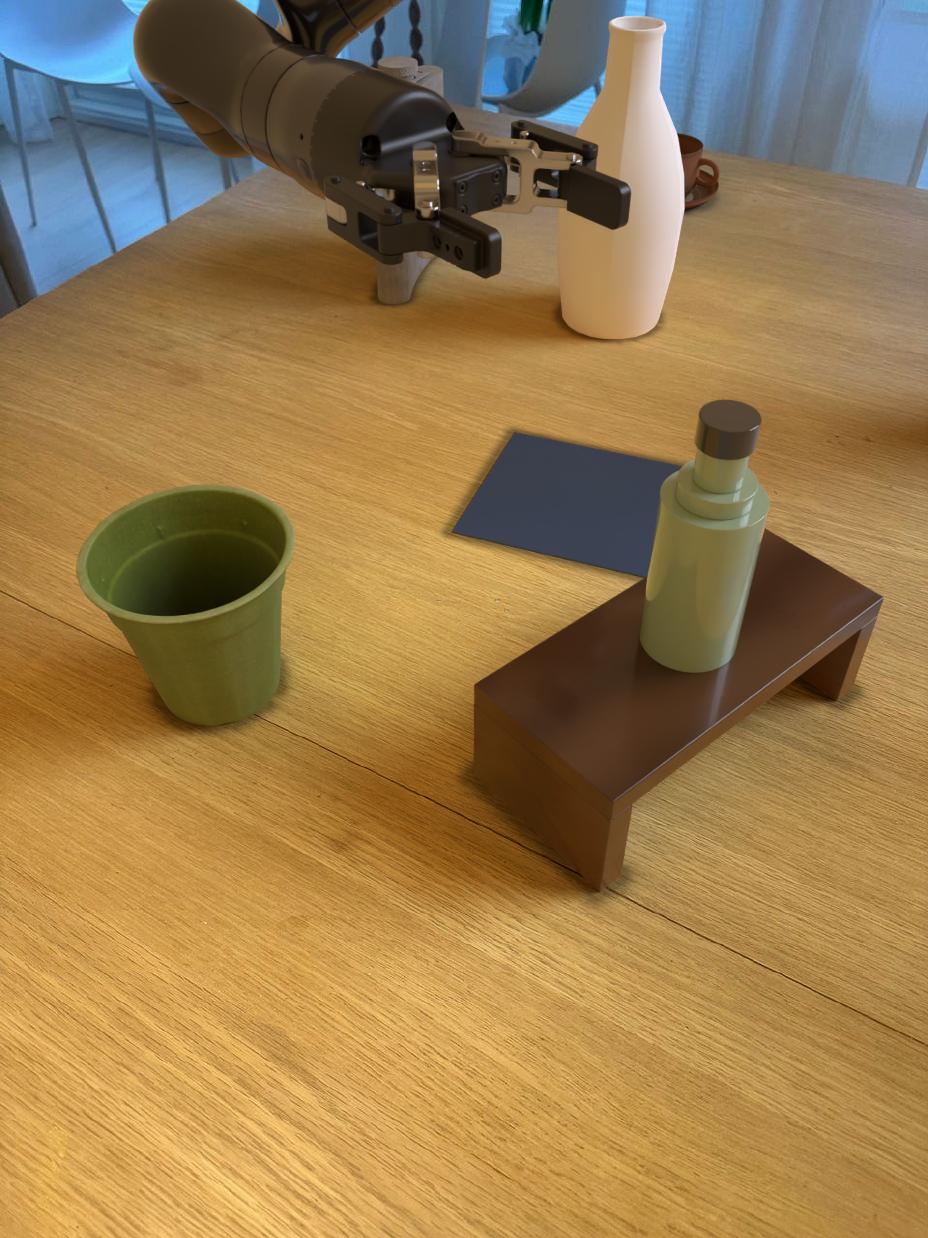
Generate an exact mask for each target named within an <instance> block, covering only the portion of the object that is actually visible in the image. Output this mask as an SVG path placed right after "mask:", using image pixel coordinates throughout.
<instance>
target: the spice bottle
mask: <svg viewBox="0 0 928 1238" xmlns="http://www.w3.org/2000/svg"><path fill="white" fill-rule="evenodd" d="M697 414H698V415H697V421H696V426H695V432H694V438H693V440H694V444H695V447H696V451H695V452H696V453H695V458H694V459H692V460H690V461H688V462H685V463H684V464H683V465H681V466H682V467H681V469H680V470H679V471H677V472H675V473H673V474H672V475H670V476H669V477H668V478H667V479H666V480H665V481H664V482H663V484H662V486H661V489H660V495H659V502H658V508H657V515H656V522H655V529H654V536H653V542H652V549H651V556H650V563H649V570H648V577H647V583H646V590H645V597H644V604H643V611H642V617H641V624H640V632H639V637H640V641H641V644H642V646H643V648H644V650H645V651H646V653H647V654H648V655H649V656H650V657H651V658H653V659H654V660H655V661H657V662H658V663H660V664H662V665H663V666H666V667H668V668H670V669H674V670H677V671H682V672H689V673H701V672H708V671H712V670H715V669H717V668H720V667H722V666H723V665H725V664H726V663H727V662H729V660H730V659H731V658H732V657H733V655H734V654H735V651H736V647H737V643H738V639H739V635H740V631H741V626H742V622H743V618H744V614H745V609H746V605H747V601H748V597H749V593H750V588H751V584H752V580H753V576H754V571H755V567H756V563H757V559H758V555H759V550H760V546H761V542H762V538H763V533H764V529H765V528H766V525H767V522H768V521H767V520H768V517H769V512H770V507H771V500H770V496H769V494H768V492H767V490H766V489H765V487H764V486H763V485H762V484H761V483H760V482H759V479H758V476H757V475H756V474H755V472H754V471H753V470H752V469H751V468H749V467H748V466H749V461H750V456H751V455H753V453H754V452H755V451H756V449H757V445H758V439H759V436H760V431H761V427H762V426H761V425H762V415H761V413H760V411H759V410H758V409H756V408H755V407H753V406H752V405H751V404H748V403H746V402H743V401H740V400H735V399H716V400H712V401H708V402H707V403H705V404H703V405H702V406H701V407H700V408H699V411H698V413H697Z"/></svg>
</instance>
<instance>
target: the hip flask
mask: <svg viewBox="0 0 928 1238" xmlns="http://www.w3.org/2000/svg"><path fill="white" fill-rule="evenodd" d="M377 69H378V70H381V71H383V72H386V73H389V74H392V75H394V76H397V77H399V78H402V79H405V80H407V81H410V82H413V83H415V84H418V85H421V86H423V87H426V88H429V89H431V90H433V91H435V92H437V93H438V94H439V95H441V96H442V97H443V98H444V69H443V68H442V67H440V66H438V65H432V64H431V65H430V64H429V65H427V64H426V65H425V64H423V65H419V62H418V60H417V58H413V57H410V56H403V55H397V56H394V55H393V56H388V57H383V58H381V59H379V60H378V61H377ZM431 260H432V259H423V258H420V257H418V256H417V251H415V252H408V253H404V261H403V262H402V263H400V264H396V265H386V264H382V263H381V262H379V261H378V260H376V259H375V273H376V285H377V286H376V287H377V298H378V301H380V302H381V303H382V304H387V305H400V304H401V305H402V304H404V303H407V302H408V301H410V299H411V296H412V292H413V289H414V286H415V284H416V282H417V280H418V278H419V276H420V275H421V273H422V272H423V271H424V269H425V268H426V266H427V265H428V264H429V263H430V261H431Z"/></svg>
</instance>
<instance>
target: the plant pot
mask: <svg viewBox="0 0 928 1238" xmlns="http://www.w3.org/2000/svg"><path fill="white" fill-rule="evenodd" d="M295 537H296V535H295V530H294V527H293V523H292V522H291V520H290V518H289V517H288V515H287V513H286V512H285V511H284V509H282V508H281V506H279V505H278V504H277V503H275V502H274V501H273V500H271V499H269V498H267V497H266V496H264V495H262V494H260V493H257V492H254V491H253V490H248V489H246V488H242V487H237V486H232V485H225V484H192V485H191V484H190V485H183V486H178V487H172V488H168V489H164V490H159V491H156V492H153V493H150V494H147V495H145V496H142V497H140V498H137V499H135V500H133V501H131V502H130V503H127V504H126V505H123V506H121V507H120V508H118V509H117V510H116V511H114V512H112V513H111V514H110V515H108V516H107V517H104V519H103V520H101V521H100V522H99V523H98V524H97V525H96V527H95V528H94V529H93V531H92V532H90V533H89V534H88V536H87V537H86V538H85V540H84V542H83V544H82V545H81V548H80V549H79V553H78V554H77V555H78V556H77V559H76V567H75V574H76V578H77V582H78V584H79V587H80V590H81V591H82V593H83V594H84V596H85V597H86V599H88V600H89V602H90V603H92V604H93V605H94V606H95V607H97V608H98V609H99V610H101V611H103V612H104V613H106V615H107V617H108V619H110V621H111V623H112V624H113V625H114V626H115V627H116V628H117V629H118V630H120V632H121V633H122V634H123V637H124V638H125V640H126V641H127V643H128V645H129V647H130V648H131V649H132V652H133V653H134V655H135V657H136V658H137V659H138V661H139V663H140V665H141V666H142V668H143V670H144V671H145V673H146V675H147V676H148V678H149V680H150V682H151V683H152V685H153V686H154V688H155V690H156V692H157V693H158V695H159V696H160V698H161V700H162V701H163V703H164V704H165V706H166V707H167V709H168V710H169V711H170V712H171V713H172V714H173V716H175V717H177V718H178V719H180V720H182V721H184V722H187V723H189V724H193V725H198V726H204V727H206V726H207V727H216V726H217V727H218V726H221V725H225V724H230V723H237V722H240V721H243V720H245V719H248V718H249V717H251V716H253V715H254V714H256V713H258V712H259V711H261V710H262V709H263V708H264V707H266V706H267V704H268V703H270V701H271V700H272V699H273V697H274V696H275V694H276V693H277V690H278V688H279V685H280V681H281V680H280V679H281V659H282V657H281V655H282V654H281V651H282V650H281V649H282V648H281V647H282V611H283V610H282V609H283V607H282V605H283V603H282V602H283V590H284V586H285V582H286V573H287V568H288V567H289V566H290V563H291V561H292V558H293V556H294V552H295V551H294V550H295V545H296V538H295Z"/></svg>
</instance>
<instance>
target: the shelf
mask: <svg viewBox="0 0 928 1238" xmlns="http://www.w3.org/2000/svg"><path fill="white" fill-rule="evenodd" d="M647 577H648V576H647ZM647 577H645V578H643V577H642V579H640V580H638V581H637V582H636V583H634V584H632V585H630V586H629V587H627V588H626V589H624V590H623V591H621V592H619V593H617V594H616V595H615V596H613V597H611V598H610V599H609V600H606V601H605V602H603V603H602V604H600V605H598V606H597V607H596V608H594V609H592V610H591V611H589V612H587V613H586V614H584V615H582V616H581V617H579V618H578V619H576V620H574V621H573V622H571V623H569V624H568V625H567V626H565V627H563V628H562V629H560V630H559V631H557V632H555V633H554V634H552V635H551V636H549V637H548V638H546V639H544V640H542V641H541V642H539V643H537V644H536V645H534V646H533V647H531V648H530V649H528V650H527V651H525V652H523V653H522V654H520V655H519V656H516V657H515V658H514V659H512V660H511V661H509V662H507V663H506V664H504V665H502V666H501V667H499V668H498V669H496V670H494V671H493V672H491V673H490V674H487V676H485V677H483V678H482V679H480V680H478V681H477V682H475V683H474V684H473V777H474V779H476V780H477V781H478V782H479V783H480V784H481V785H483V786H484V788H486V790H488V791H489V792H490V793H491V794H493V796H495V798H496V799H498V800H499V801H500V803H502V805H504V806H505V807H506V808H507V809H508V810H510V812H512V814H514V815H515V816H516V817H517V818H518V819H519V820H521V822H523V824H525V825H526V826H527V827H528V828H529V829H530V830H531V831H532V832H533V833H535V834H536V835H537V836H538V837H539V838H540V839H541V840H542V841H543V842H544V843H545V844H546V845H547V846H548V847H550V848H551V849H552V850H553V851H554V852H555V853H556V854H557V855H559V857H560V858H562V859H563V860H564V861H565V862H566V863H567V864H568V865H569V866H570V867H571V868H573V869H574V871H576V872H577V873H578V874H579V875H580V876H581V877H582V878H583V879H585V881H587V882H588V884H590V885H591V886H592V887H593V888H594V889H595V890H596V891H597V892H598V893H601V892H603V891H604V890H606V889H607V888H608V887H609V886H610V885H612V884H613V883H615V881H617V880H618V879H619V878H620V877H621V876H622V873H623V866H624V860H625V854H626V848H627V842H628V836H629V830H630V825H631V818H632V811H633V807H634V803H636V802H637V801H638V800H640V799H641V798H642V797H644V796H645V795H646V794H648V793H649V792H650V791H652V790H653V789H654V788H656V787H657V786H658V785H660V784H661V783H662V782H663V781H664V780H665V779H668V777H669V776H671V775H672V774H673V773H675V772H676V771H677V770H679V769H680V768H681V767H683V766H684V765H685V764H687V763H688V762H689V761H691V760H692V759H693V758H694V757H696V756H697V755H698V754H699V753H701V752H702V751H704V750H705V749H706V748H707V747H709V746H711V744H712V743H714V742H716V740H718V739H719V738H721V737H722V736H723V735H724V734H726V733H727V732H728V731H730V730H731V729H732V728H734V727H735V726H736V725H738V724H739V723H740V722H741V721H742V720H744V719H745V718H747V717H749V715H751V714H752V713H754V711H756V710H757V709H758V708H760V707H761V706H763V704H765V703H767V702H768V701H769V700H770V699H772V698H773V697H774V696H776V694H778V693H779V692H781V691H782V690H784V689H785V688H786V687H787V686H788V685H790V684H791V683H792V682H794V681H795V680H796V679H798V678H800V679H802V680H803V681H804V682H806V683H808V684H809V685H811V686H812V687H814V688H815V689H817V691H820V692H821V693H823V694H824V695H826V696H827V697H828V698H830V699H831V700H833V701H835V702H838V701H840V700H841V699H842V698H843V697H845V696H846V695H847V694H848V693H849V692H851V691H852V689H853V688H854V684H855V681H856V679H857V677H858V676H857V675H858V673H859V670H860V668H861V665H862V661H863V659H864V656H865V654H866V650H867V647H868V645H869V642H870V639H871V636H872V634H873V630H874V628H875V625H876V622H877V620H878V616H879V613H880V610H881V607H882V605H883V602H884V599H885V597H884V596H883V595H881V594H880V593H877V592H876V591H874V590H873V589H871V588H869V587H867V586H866V585H864V584H862V583H860V582H858V581H857V580H856V579H854V578H851V577H850V576H848V575H847V574H845V573H844V572H842V571H840V570H839V569H836V568H834V567H833V566H831V565H829V564H828V563H826V562H825V561H823V560H821V559H819V558H818V557H816V556H814V555H812V554H811V553H810V552H807V551H805V550H804V549H802V548H801V547H798V546H797V545H795V544H794V543H792V542H791V541H788V540H786V539H785V538H783V537H781V536H780V535H777V534H776V533H775V532H772V531H771V530H769V529H767V528H766V527H765V529H764V533H763V538H762V542H761V546H760V550H759V555H758V559H757V563H756V567H755V571H754V576H753V580H752V584H751V588H750V593H749V597H748V601H747V605H746V609H745V614H744V618H743V622H742V626H741V631H740V635H739V639H738V643H737V647H736V651H735V654H734V655H733V657H732V658H731V659H730V660H729V662H727V663H726V664H725V665H723V666H722V667H720V668H717V669H715V670H712V671H708V672H701V673H689V672H682V671H677V670H674V669H670V668H668V667H666V666H663V665H662V664H660V663H658V662H657V661H655V660H654V659H653V658H651V657H650V656H649V655H648V654H647V653H646V651H645V650H644V648H643V646H642V644H641V641H640V637H639V632H640V624H641V617H642V611H643V604H644V597H645V590H646V583H647Z"/></svg>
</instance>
